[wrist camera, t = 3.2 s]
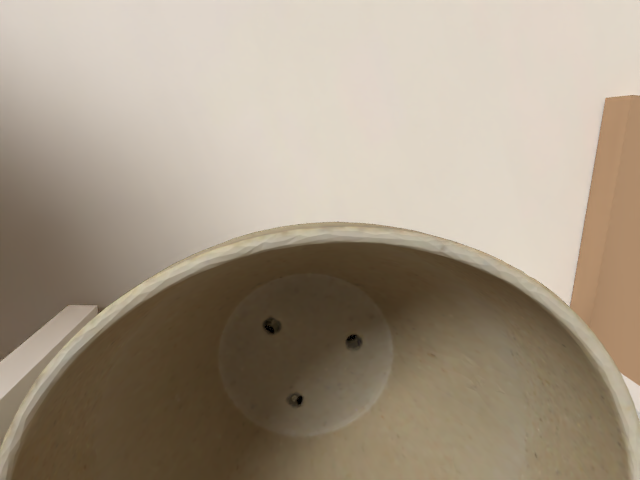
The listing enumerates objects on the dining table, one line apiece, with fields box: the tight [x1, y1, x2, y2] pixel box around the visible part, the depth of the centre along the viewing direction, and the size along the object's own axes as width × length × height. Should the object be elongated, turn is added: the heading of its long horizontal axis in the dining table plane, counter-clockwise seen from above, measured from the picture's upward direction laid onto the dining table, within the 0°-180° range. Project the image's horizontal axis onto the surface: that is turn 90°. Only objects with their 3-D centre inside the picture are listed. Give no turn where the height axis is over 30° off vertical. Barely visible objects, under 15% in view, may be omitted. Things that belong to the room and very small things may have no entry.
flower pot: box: [0, 222, 640, 480], centre depth 11 cm, size 10×10×7 cm
